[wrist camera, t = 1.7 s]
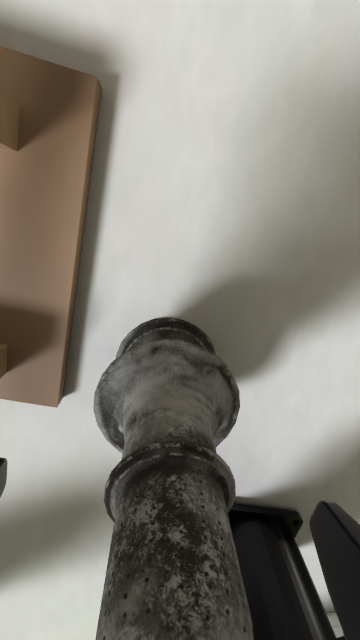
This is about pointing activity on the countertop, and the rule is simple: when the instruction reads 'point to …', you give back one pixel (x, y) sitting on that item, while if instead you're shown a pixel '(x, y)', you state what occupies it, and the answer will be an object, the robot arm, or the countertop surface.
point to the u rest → (41, 218)
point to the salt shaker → (170, 490)
